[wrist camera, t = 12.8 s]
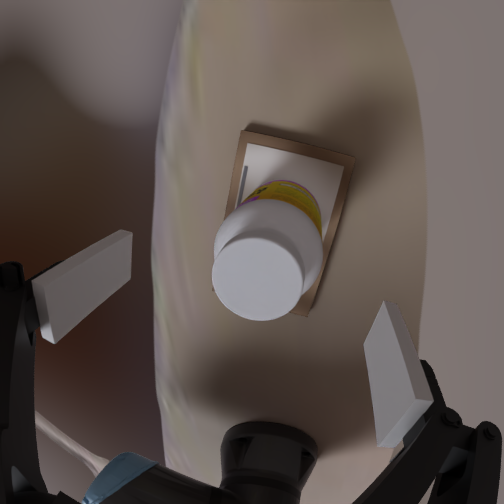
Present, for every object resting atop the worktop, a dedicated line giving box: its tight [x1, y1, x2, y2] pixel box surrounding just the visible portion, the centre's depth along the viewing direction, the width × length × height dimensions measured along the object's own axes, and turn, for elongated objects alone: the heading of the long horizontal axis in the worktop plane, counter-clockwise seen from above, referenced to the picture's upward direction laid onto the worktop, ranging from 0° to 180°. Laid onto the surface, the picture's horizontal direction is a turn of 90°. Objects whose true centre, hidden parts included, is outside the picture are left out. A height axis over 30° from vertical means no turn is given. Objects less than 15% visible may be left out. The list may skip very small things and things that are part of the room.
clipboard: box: [212, 130, 356, 317], centre depth 28 cm, size 16×10×2 cm, turn 169°
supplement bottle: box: [212, 179, 323, 321], centre depth 21 cm, size 7×7×13 cm
